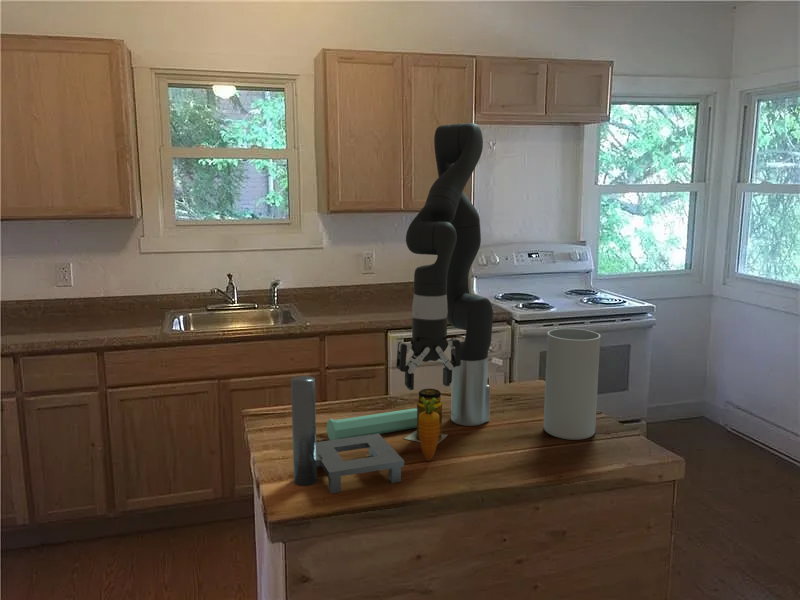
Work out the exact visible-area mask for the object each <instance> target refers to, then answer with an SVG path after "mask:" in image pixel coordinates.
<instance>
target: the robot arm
mask: <svg viewBox="0 0 800 600" xmlns="http://www.w3.org/2000/svg"><path fill="white" fill-rule="evenodd" d="M433 138H434V139H433V144H434V146H433V147H434V155H435V156H434V157H435V161H436V162H435V163H436V169H437V170H436V171H437V175H438V176H437V177H438V178H437V179H435V181H434V182H433V183H432V185H431V187H430V189H429V191H428V195H427V197H426V200H425V203H424V206H423V207H422V208H421V209H420V210H419V212H418V214H417V215H416V216H415V217H414V218H413V220H412V221H411V222H410V224H409V226H408V228H407V231H406V235H405V243H406V247H407V249H408V251H410V252H411V253H413V254H416V255H427V256H428V255H430V256H431V255H432V256H436V257H437V258H436V260H435V261H434V263H432V264H426V265H421V266H417V267H416V268H415V270H414V273H413V299H412V311H411V313H412V318H411V319H412V323H411V336H412V338H411V341H410V342H402V341H399V342H398V343H397V351H396V363H395V367H396V369H398V370H399V371H400V372H404V385H405V387H406V388H407V389H408V390H409V391H413V390H414V387H415V386H414V385H415V374H414V371H415V370H416V368H417V367H418V366H420V364H421V363H422V362H424V363H427V362H430V361H432V362H436V361H437V362H438V360H439V362H440V363H441V364H442V365H443V369H442V385H443V386H445V387H450V385H451V388H450V389H451V393H450V394H451V396H450V397H451V399H450V420H451V422H453V423H454V424H457V425H460V426H469V427H470V426H471V427H473V426H481V425H482V424H484V423H487V422H490V413H491V412H490V409H491V408H490V407H491V386H490V385H489V384H488V364H489V363H488V362H489V361H488V360H489V358H488V357H489V351H490V348H491V343H492V336H493V335H492V333H493V321H494V309H493V304H492V303H491V301H490V300H489V298H488V297H485V296H481V295H477V294H470V287H469V275H470V270H471V268H472V265H473V263H474V261H475V259H476V256H477V254H478V252H479V249H480V247H481V243H482V237H481V236H482V235H481V220H480V215H479V213H478V211H477V209H476V207H475V206H474V204H473V203H472V202H471V200H470V199H469V197H468V196H467V195H466V193H465V192H464V189H465V187H466V186H467V183H468V182H469V180H470V178H471V176H472V174H473V172H474V171H475V169H476V167H477V165H478V163H479V161H480V158H481V156H482V153H483V147H484V139H483V134H482V130H481V128H480V126H479V124H476V123H474V122H473V123H472V122H464V123H454V124H444V125H443V124H442V125H439V126H438V127H437V128H436V129H435V132H434V137H433ZM448 323H449V325H450V326H452V327H453V328H455V329H459V330H464V331H465V338H464V340H462V341H460V340H459V339H457V338H455V337H452V338H450V339H447V335H448ZM447 348H449V349H450V359H449V358H448V356H447V354H446V353H445V351H446V350H447ZM410 350H412V354H411V355H410V356H409V358H408V361H407V354H408V353H409V352H410Z"/></svg>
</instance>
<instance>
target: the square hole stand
mask: <svg viewBox="0 0 800 600" xmlns="http://www.w3.org/2000/svg"><path fill="white" fill-rule="evenodd" d="M290 390H291V392H290V393H291V394H290V395H291V396H290V397H291V421H292V422H291V423H292V458H293V460H292V462H293V483H294V484H295V485H297V486H298V487H299V486H300V487H308V486H312V485H314V484H316V483H317V481H318V468H322V469H323V471H324V473H325V474H326V476H327V477H328V478H327V480H328V481H327V482H328V491H329V492H330V494H332V495H333V494H336V493H341V491H342V487H341V486H342V485H341V482H342V481H341V479H342V478H341V477H343V476H344V477H346V476H353V475H357V474H363V473H369V472H375V471H382V470H388V480H389V482H390V483H391V484H395V483H401V482H402V467H405V460H404V459H403V458H402V457H401V456H400V454H398V452H397V451H396V450H395V449H394V448H393V447H392V446H391V445H390V444H389V443H388V442H387V440H386V439H385V438H384V437H383V436H382V434H371V435H364V436H357V437H350V438H343V439H336V440H329V439H328V440H324V441H323V440H322V441H317V422H316V419H317V417H316V415H317V414H316V413H317V411H316V378H315V377H313V376H310V375H298V376H294V377H292V378H291V380H290ZM362 449H367V450H368V452H369V453H368V456H369V457H362V458H355V459H349V460H343V458H342V457H341V456H340V454H339V453H341V452H347V451H353V450H354V451H355V450H362Z"/></svg>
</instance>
